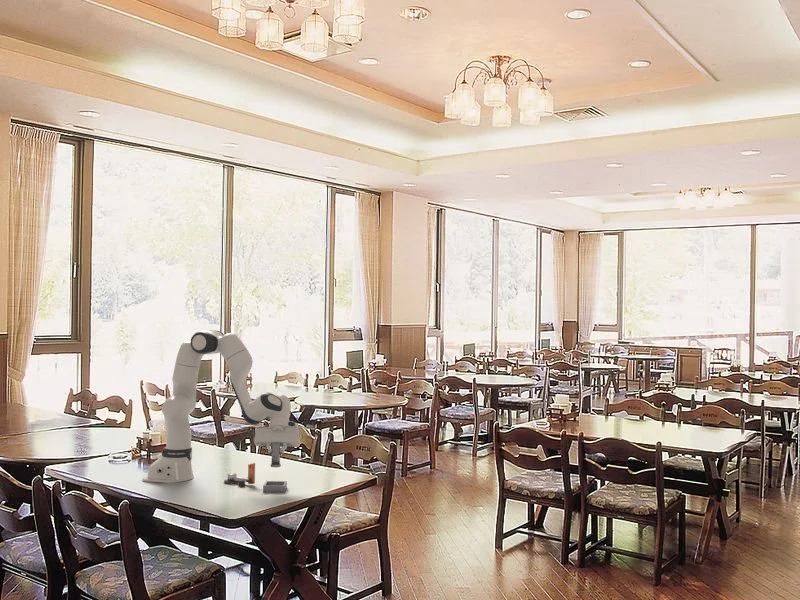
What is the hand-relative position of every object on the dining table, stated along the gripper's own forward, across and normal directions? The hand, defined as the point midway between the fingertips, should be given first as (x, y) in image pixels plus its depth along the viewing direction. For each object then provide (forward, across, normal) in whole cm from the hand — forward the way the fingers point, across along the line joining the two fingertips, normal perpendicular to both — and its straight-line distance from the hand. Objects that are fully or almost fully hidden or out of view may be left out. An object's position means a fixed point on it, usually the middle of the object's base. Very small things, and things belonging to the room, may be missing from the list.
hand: (275, 453), depth 332 cm
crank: (+3, -16, +19) cm, 25 cm away
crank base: (+2, -21, +21) cm, 30 cm away
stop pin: (+4, 0, +5) cm, 6 cm away
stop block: (+7, -15, +16) cm, 23 cm away
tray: (+11, 0, +12) cm, 16 cm away
